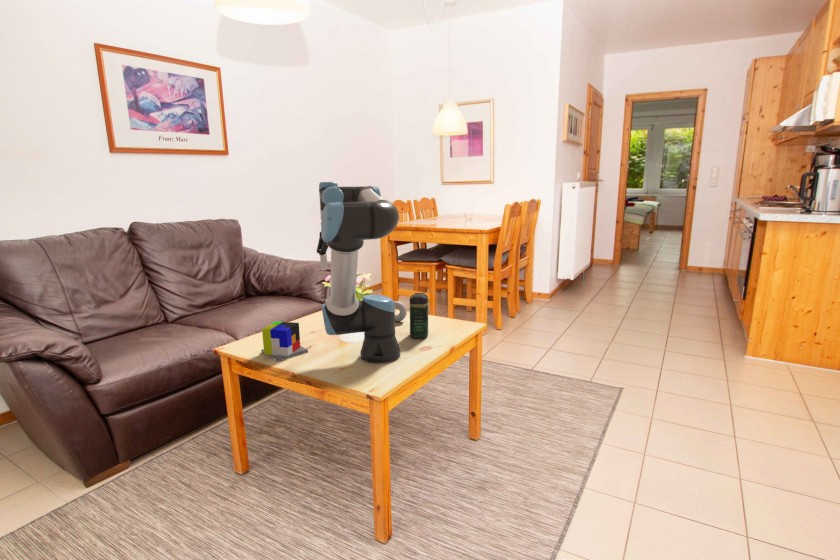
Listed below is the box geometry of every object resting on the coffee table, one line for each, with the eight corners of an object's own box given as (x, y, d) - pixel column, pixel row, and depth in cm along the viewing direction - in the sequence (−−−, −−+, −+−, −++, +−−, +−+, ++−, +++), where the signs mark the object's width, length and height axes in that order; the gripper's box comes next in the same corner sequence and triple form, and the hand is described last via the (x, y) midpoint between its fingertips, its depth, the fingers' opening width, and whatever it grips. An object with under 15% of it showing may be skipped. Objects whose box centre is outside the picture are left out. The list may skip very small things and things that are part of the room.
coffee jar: (427, 339, 191) (427, 296, 187) (408, 339, 191) (408, 296, 188) (429, 332, 200) (428, 291, 196) (411, 332, 201) (410, 291, 197)
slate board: (307, 352, 178) (307, 349, 177) (276, 361, 169) (276, 358, 169) (291, 344, 187) (291, 341, 187) (261, 352, 178) (261, 349, 178)
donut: (408, 321, 217) (407, 301, 215) (405, 323, 214) (404, 302, 212) (388, 319, 220) (388, 299, 218) (385, 321, 217) (385, 301, 215)
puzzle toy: (288, 355, 171) (286, 330, 169) (264, 354, 173) (262, 329, 171) (300, 346, 180) (298, 322, 178) (277, 345, 182) (275, 321, 180)
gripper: (356, 221, 178) (358, 274, 182) (321, 218, 195) (324, 267, 200) (339, 222, 173) (342, 277, 177) (306, 219, 190) (309, 269, 195)
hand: (333, 272), depth 188 cm, fingers open, 13 cm apart
